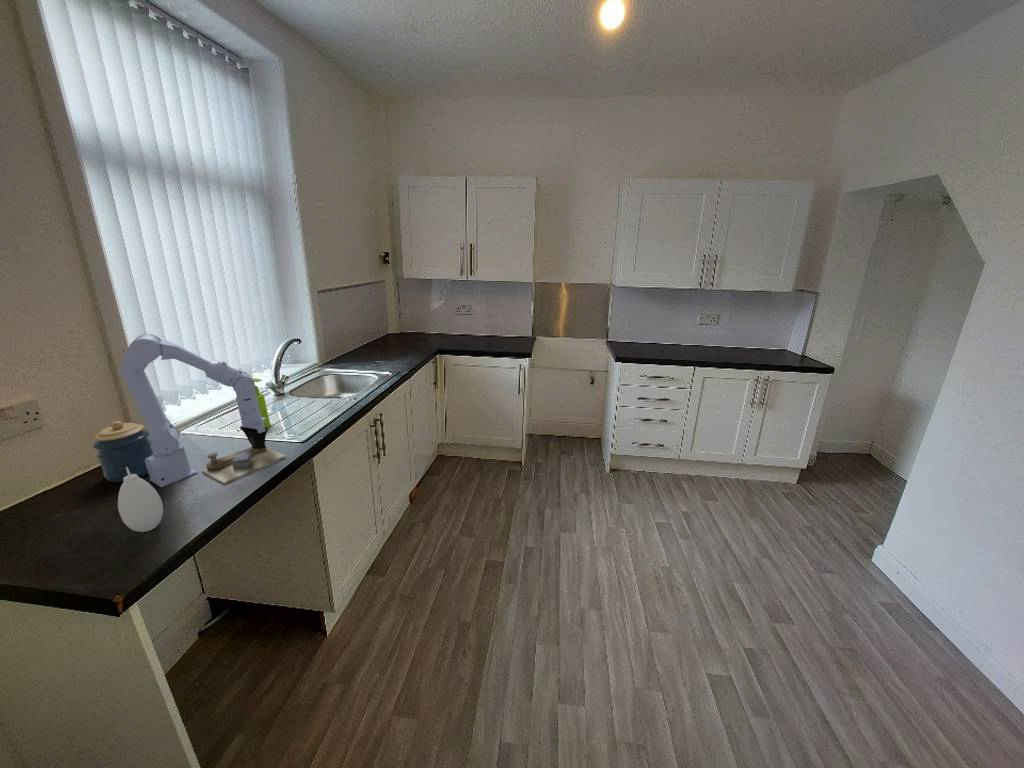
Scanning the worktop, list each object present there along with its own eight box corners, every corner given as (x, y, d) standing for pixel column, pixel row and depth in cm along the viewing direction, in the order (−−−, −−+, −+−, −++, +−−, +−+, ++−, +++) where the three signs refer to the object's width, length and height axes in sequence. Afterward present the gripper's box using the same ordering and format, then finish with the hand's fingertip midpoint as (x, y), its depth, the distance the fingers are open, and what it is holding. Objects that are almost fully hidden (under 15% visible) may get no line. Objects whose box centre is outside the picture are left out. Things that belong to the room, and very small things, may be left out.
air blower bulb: (127, 529, 102) (103, 466, 96) (166, 515, 107) (146, 455, 101) (129, 544, 97) (104, 479, 91) (170, 529, 102) (149, 466, 96)
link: (210, 471, 126) (206, 456, 124) (204, 467, 128) (200, 453, 126) (267, 449, 139) (264, 435, 138) (261, 446, 142) (258, 432, 140)
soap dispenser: (264, 430, 157) (253, 381, 151) (249, 429, 158) (238, 380, 152) (276, 424, 162) (265, 377, 156) (261, 422, 164) (250, 376, 157)
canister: (128, 485, 121) (108, 432, 116) (94, 480, 124) (73, 428, 118) (170, 463, 133) (154, 414, 128) (139, 460, 136) (122, 411, 130)
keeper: (250, 470, 129) (247, 459, 127) (234, 472, 127) (231, 461, 126) (256, 460, 135) (253, 449, 133) (240, 462, 133) (238, 451, 132)
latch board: (224, 484, 121) (223, 482, 121) (202, 472, 128) (201, 470, 128) (285, 457, 136) (285, 455, 136) (263, 447, 143) (262, 445, 143)
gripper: (271, 410, 132) (279, 447, 136) (253, 401, 140) (261, 436, 145) (247, 417, 127) (257, 455, 131) (230, 407, 135) (239, 443, 140)
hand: (257, 446), depth 138 cm, fingers open, 4 cm apart
